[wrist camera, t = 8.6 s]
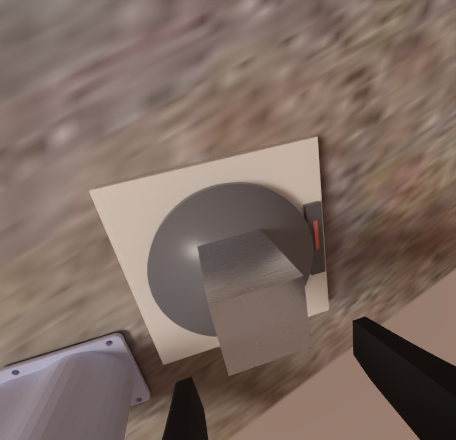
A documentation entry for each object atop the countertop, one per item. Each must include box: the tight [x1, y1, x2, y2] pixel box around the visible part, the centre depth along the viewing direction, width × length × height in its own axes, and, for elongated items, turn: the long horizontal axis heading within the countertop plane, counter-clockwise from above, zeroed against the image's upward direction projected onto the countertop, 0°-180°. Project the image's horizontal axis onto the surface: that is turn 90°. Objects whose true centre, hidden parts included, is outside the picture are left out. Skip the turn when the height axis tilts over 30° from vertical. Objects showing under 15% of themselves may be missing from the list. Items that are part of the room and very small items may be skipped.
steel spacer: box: [197, 229, 311, 376], centre depth 14 cm, size 4×4×6 cm
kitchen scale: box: [89, 137, 329, 365], centre depth 18 cm, size 15×15×2 cm
